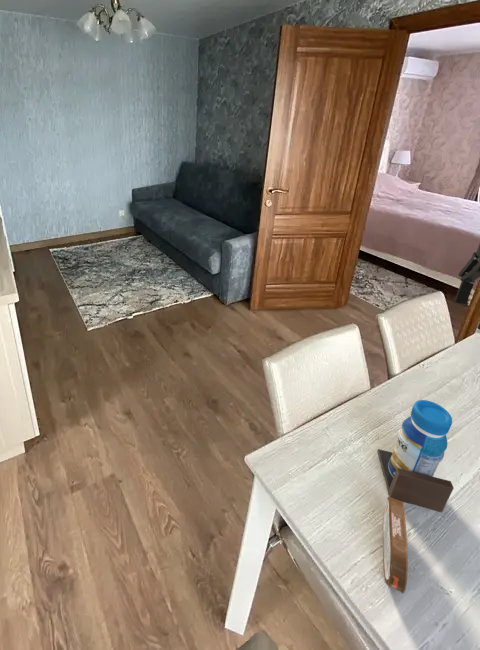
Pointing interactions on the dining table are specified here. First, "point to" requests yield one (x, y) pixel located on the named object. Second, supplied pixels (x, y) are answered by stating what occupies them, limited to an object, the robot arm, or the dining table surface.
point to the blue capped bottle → (421, 439)
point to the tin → (395, 545)
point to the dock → (415, 486)
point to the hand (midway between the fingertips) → (471, 315)
